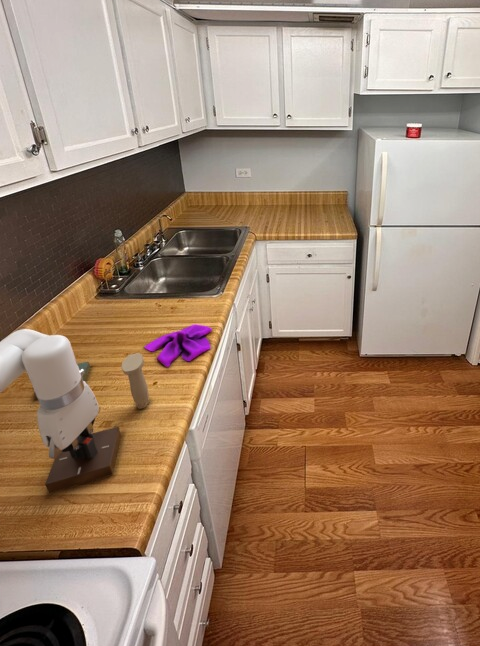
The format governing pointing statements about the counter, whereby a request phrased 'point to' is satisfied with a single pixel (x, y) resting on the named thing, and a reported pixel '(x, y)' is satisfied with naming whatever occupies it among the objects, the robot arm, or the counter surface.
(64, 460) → the panel
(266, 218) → the counter surface
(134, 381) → the handle
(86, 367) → the button box
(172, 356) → the cloth
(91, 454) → the knob
